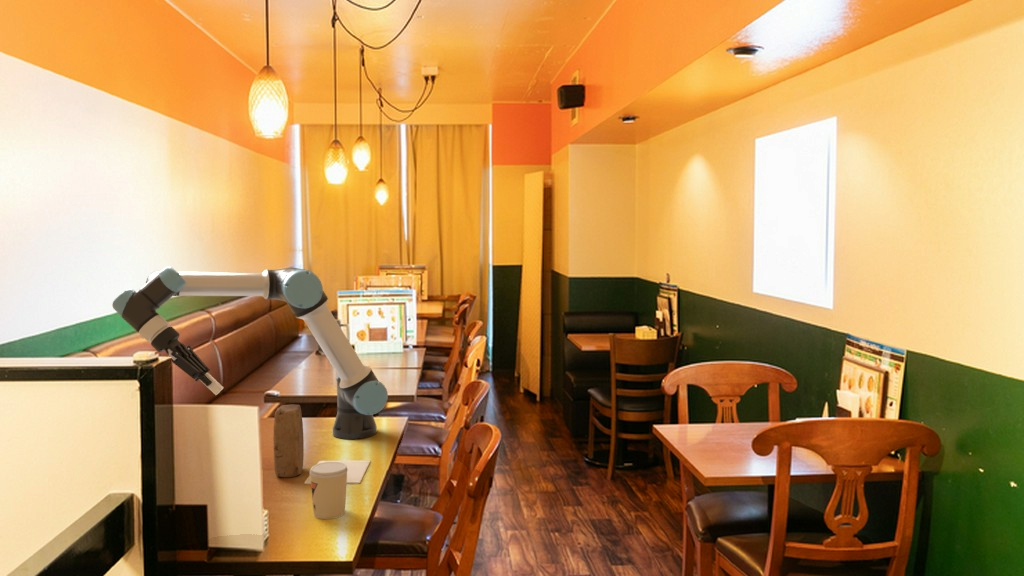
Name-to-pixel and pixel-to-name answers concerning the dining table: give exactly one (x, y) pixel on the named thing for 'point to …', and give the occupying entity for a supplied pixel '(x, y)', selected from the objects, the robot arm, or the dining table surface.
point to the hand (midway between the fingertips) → (219, 391)
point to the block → (288, 441)
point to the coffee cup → (328, 489)
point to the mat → (350, 471)
